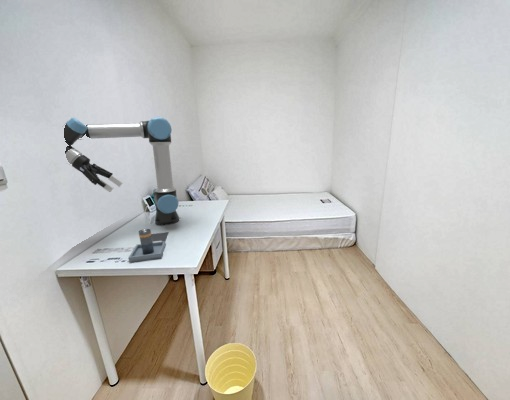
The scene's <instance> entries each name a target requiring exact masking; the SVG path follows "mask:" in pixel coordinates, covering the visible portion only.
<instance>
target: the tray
mask: <svg viewBox="0 0 510 400" xmlns="http://www.w3.org/2000/svg"><path fill="white" fill-rule="evenodd" d="M166 244H167V243H166V241H162V242H154V243H153V248H154V252H153V253H151V254H147V255H144V254H143V252H142V247H141V243H140V244H136V245H135V246H134V248H133V249H132V251H131V253H130V255H129V256H128V263H138V262H146V261H152V260H161V259H162V258H163V255H164V250H165V248H166Z"/></svg>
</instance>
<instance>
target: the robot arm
mask: <svg viewBox="0 0 510 400" xmlns="http://www.w3.org/2000/svg"><path fill="white" fill-rule="evenodd" d="M65 124H66V125H65ZM65 124H64V125H65V128H64V138H65V140H66V141H65V142H66V143H67V144H68V145H69V146H67V147H66V151H65V154H66V158H67V160H68V162H69V163H70V164H72V165H71V167H72V168H74V169H75V170H76V171H79V172H80V173H81V174H83V175H84V176H85V178H87V179H88V181H89V182H91V184H93V185H94V186H96V185H97V186H100V187H101V188H103V189H104V190H105V191H107V192H108V193H111V192H112V190H113V189H114V187H113V186H112V185H111V184H109V183H108V182H106V181H104V180H103V179H100V177H99V176H98V175H100V176H101V177H104V178H106V179H108V181H110V182H112V183H113V184H114V185H116V186H117V187H118V188H120V187H121V186H122V184H123V182H122V181H121V180H120V179H118V178H117V177H115V176H114V174H113V173H112V172H110V171H108V170H106V169H105V168H103V167H100V166H99V165H97V164H95V163H90V162H91V159H90V158H89V157H87V156H86V155H85V154H83V153H82V152H80V151H79V150H78V149H76V148H75V147H73V145H74V144H75V143H76V142H77V140H80V139H79V138H82V137H83V136H84V135H85V134H86V136H87V137H89V138H91V139H110V138H111V139H116V138H138V137H139V138H140V137H141V138H142V139H148V143H149V144H150V145H151V146H152V151H153V160H154V170H155V178H156V184H157V187H156V188H153V191H152V192H153V193H152V195H153V199H154V205H155V211H156V212H155V216H154V217H155V218H154V224H155V225H156V226H169V225H172V224H176V223H178V222H179V221H180V216H179V214H178V212H177V209H178V207H179V200H178V197H177V189H176V188H175V187H174V184H173V183H174V182H173V174H172V163H171V162H172V161H171V153H170V145H171V144H172V136H171V134H172V125H171V123H170V122H169V121H168V120H167V119H166V118H164V117H161V116H154V117H152V118H150V119H149V120H145V121H143V120H142V121H141V120H140V122H138V123H137V122H135V123H134V122H133V123H127V122H126V123H87V125H86V126H85V125H84V124H85V123H83V122H82V121H80V120H79V119H77V118H76V117H71V118H70V119H68V120H67V121H66V122H65ZM71 145H72V146H71ZM68 150H69V151H68ZM70 164H69V165H70Z"/></svg>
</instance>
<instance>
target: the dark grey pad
mask: <svg viewBox="0 0 510 400" xmlns="http://www.w3.org/2000/svg"><path fill="white" fill-rule="evenodd" d="M169 234H170V233H169V231H167V232H166V231H165V232H157V233H151V236H152V242H153V243H154V242H162V241H165V242H166V240H167V238H168V235H169Z"/></svg>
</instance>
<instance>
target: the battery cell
mask: <svg viewBox="0 0 510 400" xmlns="http://www.w3.org/2000/svg"><path fill="white" fill-rule="evenodd" d="M151 234H152V231H151V229H150V228H143V229H140V230H139V231H138V236H139V241H140V244H141V247H142V252H143V254H144V255H147V254H151V253H153V252H154V248H153V242H152V236H151Z"/></svg>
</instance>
